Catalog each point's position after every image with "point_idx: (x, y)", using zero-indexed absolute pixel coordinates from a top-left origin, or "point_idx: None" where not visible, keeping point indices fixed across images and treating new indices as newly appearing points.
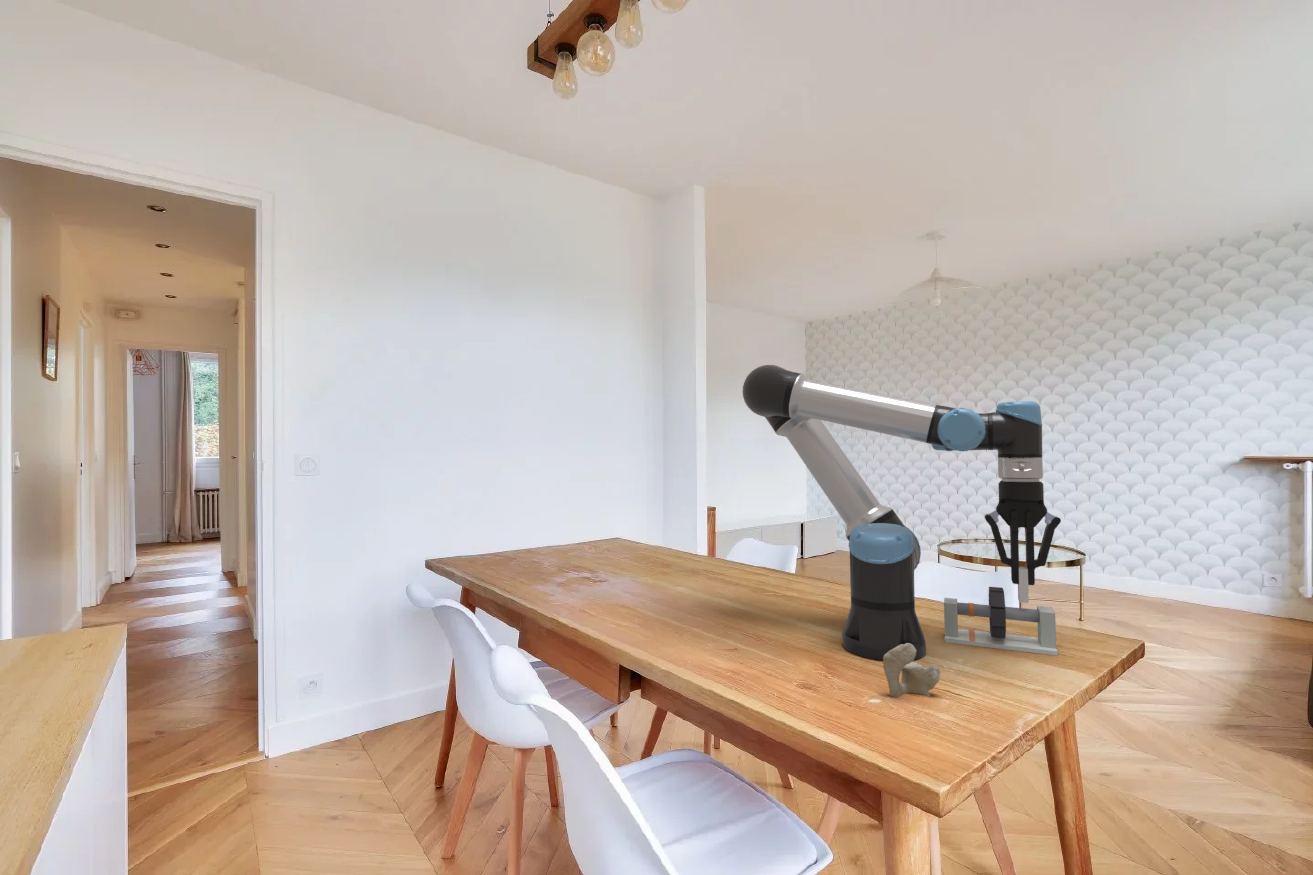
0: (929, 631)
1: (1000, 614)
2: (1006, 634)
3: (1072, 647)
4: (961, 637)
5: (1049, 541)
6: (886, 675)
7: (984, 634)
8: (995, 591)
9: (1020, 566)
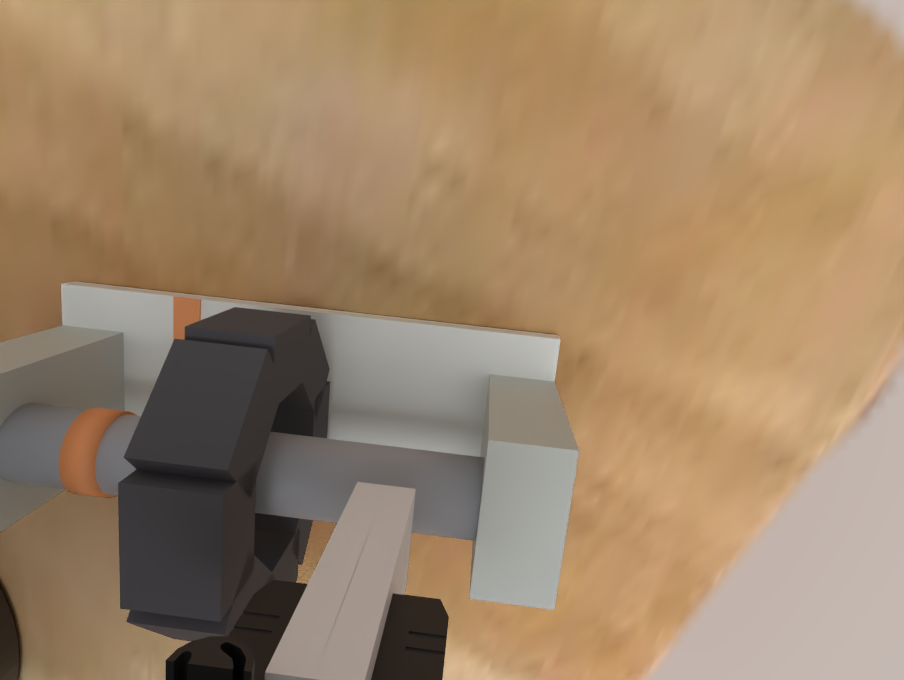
0: (3, 308)
1: None
2: (352, 323)
3: (638, 377)
4: None
5: None
6: None
7: None
8: (165, 609)
9: (298, 678)
